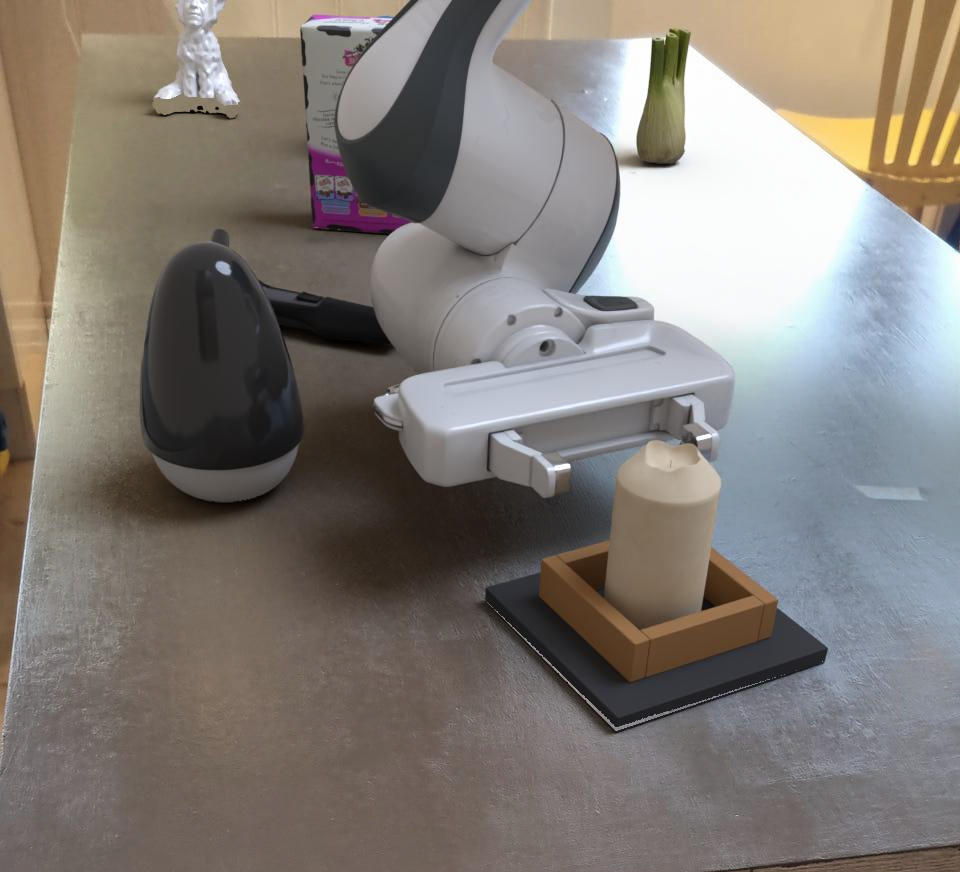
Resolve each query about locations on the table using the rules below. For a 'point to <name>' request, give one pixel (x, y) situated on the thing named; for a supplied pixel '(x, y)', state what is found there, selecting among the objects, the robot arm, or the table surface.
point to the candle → (661, 533)
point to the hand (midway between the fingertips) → (635, 467)
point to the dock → (652, 637)
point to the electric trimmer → (325, 315)
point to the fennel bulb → (665, 101)
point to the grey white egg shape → (217, 378)
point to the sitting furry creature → (200, 55)
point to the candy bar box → (325, 68)
